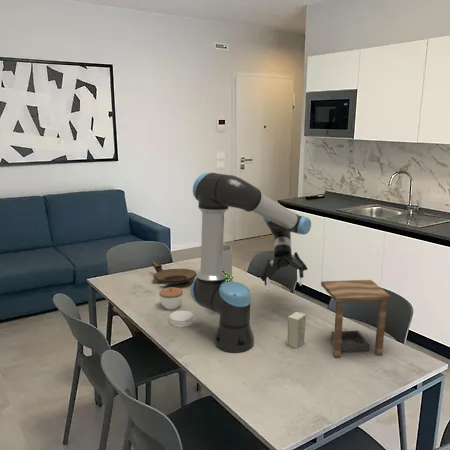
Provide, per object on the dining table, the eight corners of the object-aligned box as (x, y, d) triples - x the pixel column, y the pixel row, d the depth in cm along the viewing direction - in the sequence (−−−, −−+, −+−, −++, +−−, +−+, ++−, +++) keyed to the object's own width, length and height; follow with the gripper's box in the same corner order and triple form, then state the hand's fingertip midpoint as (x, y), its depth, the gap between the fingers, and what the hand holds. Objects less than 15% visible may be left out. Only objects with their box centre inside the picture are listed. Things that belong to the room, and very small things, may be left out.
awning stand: (385, 356, 166) (390, 296, 160) (332, 358, 164) (336, 298, 158) (366, 334, 182) (370, 279, 177) (318, 336, 180) (321, 281, 175)
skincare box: (295, 339, 178) (296, 310, 175) (305, 343, 175) (306, 314, 173) (286, 345, 173) (287, 316, 171) (296, 349, 171) (297, 319, 168)
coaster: (196, 319, 197) (196, 311, 196) (188, 329, 187) (188, 321, 187) (174, 316, 199) (174, 309, 198) (166, 326, 190) (165, 318, 189)
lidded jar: (186, 309, 206) (185, 290, 204) (163, 313, 202) (162, 293, 200) (179, 301, 215) (179, 282, 213) (157, 304, 212) (156, 285, 209)
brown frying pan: (163, 293, 225) (163, 279, 223) (144, 275, 251) (144, 262, 249) (204, 286, 235) (204, 272, 234) (182, 269, 261) (181, 257, 259)
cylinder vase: (202, 294, 224) (202, 245, 218) (226, 291, 228) (226, 243, 223) (211, 303, 213) (210, 252, 207) (235, 300, 217) (236, 250, 211)
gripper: (312, 247, 197) (316, 285, 181) (260, 262, 206) (259, 299, 190) (306, 236, 192) (310, 274, 177) (253, 251, 201) (252, 289, 186)
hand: (284, 287), depth 184 cm, fingers open, 13 cm apart
